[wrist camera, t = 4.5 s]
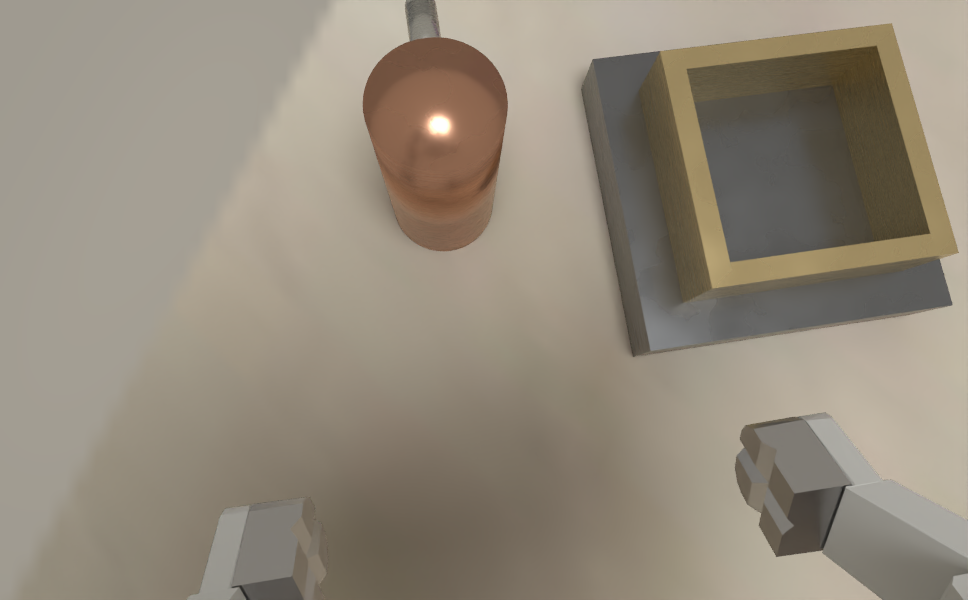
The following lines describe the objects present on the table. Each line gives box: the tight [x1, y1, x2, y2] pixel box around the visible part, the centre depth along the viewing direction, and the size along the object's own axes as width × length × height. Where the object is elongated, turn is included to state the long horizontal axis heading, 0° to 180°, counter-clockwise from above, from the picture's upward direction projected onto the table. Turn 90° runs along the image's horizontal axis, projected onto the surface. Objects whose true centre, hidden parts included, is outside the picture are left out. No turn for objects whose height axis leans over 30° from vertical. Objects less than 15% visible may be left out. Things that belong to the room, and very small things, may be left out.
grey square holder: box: [581, 23, 959, 357], centre depth 31 cm, size 15×15×6 cm
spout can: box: [363, 0, 508, 251], centre depth 28 cm, size 5×8×11 cm
